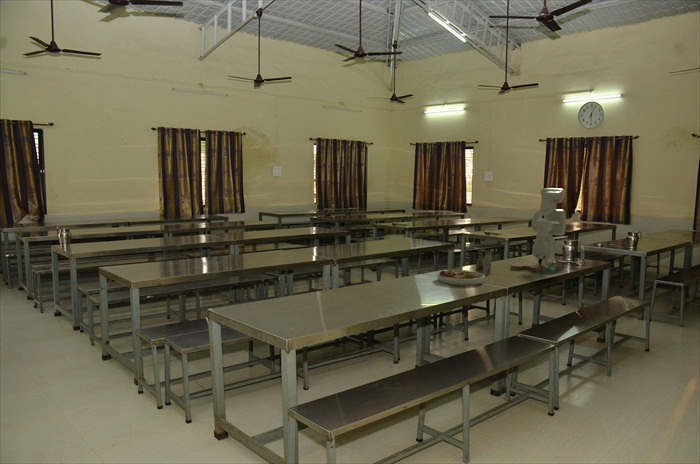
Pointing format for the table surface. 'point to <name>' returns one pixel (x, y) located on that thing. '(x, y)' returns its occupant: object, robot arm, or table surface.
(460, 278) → the bowl
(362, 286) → the table surface
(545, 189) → the robot arm
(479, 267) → the coffee box
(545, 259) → the birch block
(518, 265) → the trap board
